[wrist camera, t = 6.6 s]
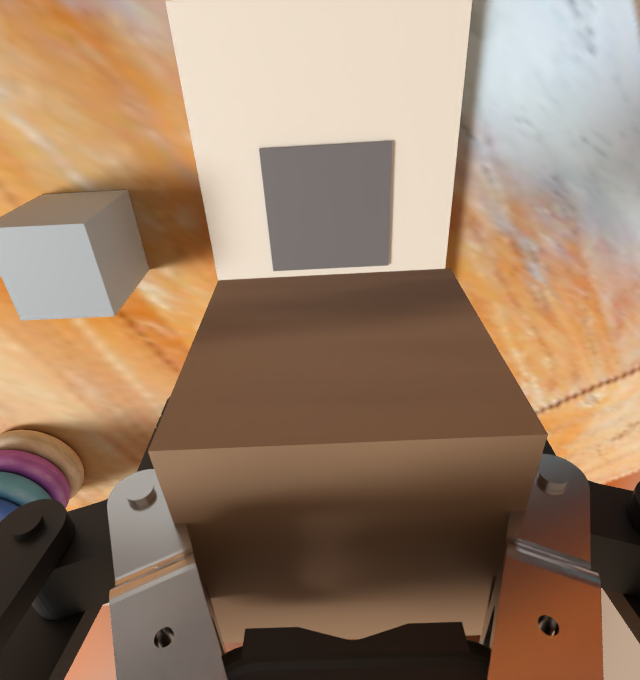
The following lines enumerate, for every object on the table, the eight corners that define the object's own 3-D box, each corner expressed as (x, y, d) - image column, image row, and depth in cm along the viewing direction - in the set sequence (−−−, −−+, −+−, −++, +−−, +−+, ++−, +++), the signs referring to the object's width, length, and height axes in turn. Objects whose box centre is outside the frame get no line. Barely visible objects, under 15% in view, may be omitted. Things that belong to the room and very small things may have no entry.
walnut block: (218, 280, 12) (147, 451, 7) (450, 268, 12) (547, 434, 7) (249, 445, 15) (216, 643, 10) (432, 437, 15) (489, 634, 10)
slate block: (42, 193, 27) (-22, 228, 22) (127, 189, 27) (83, 223, 22) (71, 273, 30) (21, 320, 24) (149, 269, 29) (114, 316, 24)
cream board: (171, 2, 22) (164, 0, 21) (468, -17, 22) (475, -20, 21) (235, 351, 33) (232, 360, 32) (433, 341, 32) (437, 351, 31)
